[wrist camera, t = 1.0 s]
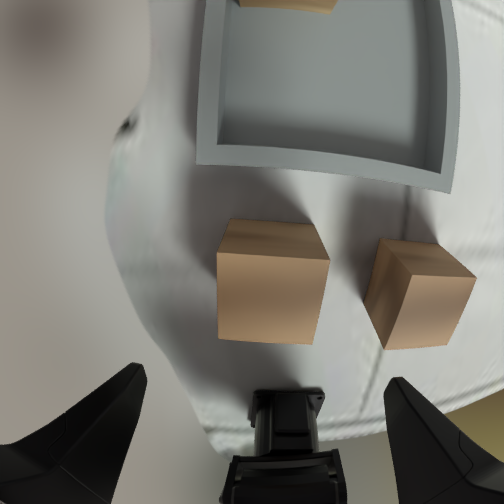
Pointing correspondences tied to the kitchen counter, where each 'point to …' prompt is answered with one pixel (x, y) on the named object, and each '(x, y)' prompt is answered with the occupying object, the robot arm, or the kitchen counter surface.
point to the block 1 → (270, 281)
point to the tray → (332, 90)
